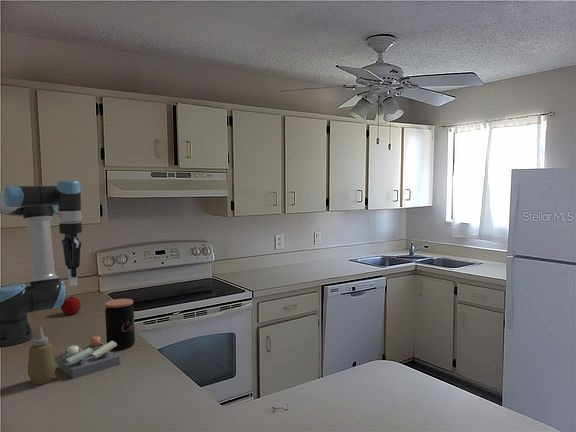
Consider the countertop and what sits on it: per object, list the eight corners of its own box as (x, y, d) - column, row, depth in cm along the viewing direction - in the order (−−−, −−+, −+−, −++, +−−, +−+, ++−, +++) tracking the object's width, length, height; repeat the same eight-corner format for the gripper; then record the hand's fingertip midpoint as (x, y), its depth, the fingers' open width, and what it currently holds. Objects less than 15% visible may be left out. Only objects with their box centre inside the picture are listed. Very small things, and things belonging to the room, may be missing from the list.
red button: (88, 346, 162) (88, 337, 162) (98, 344, 165) (98, 335, 164) (92, 349, 160) (92, 339, 159) (102, 346, 162) (102, 337, 162)
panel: (58, 367, 156) (57, 352, 156) (103, 354, 168) (102, 340, 167) (73, 378, 147) (72, 362, 146) (119, 364, 158) (118, 349, 158)
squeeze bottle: (61, 377, 147) (59, 325, 146) (41, 388, 140) (38, 332, 139) (43, 374, 150) (40, 323, 149) (22, 385, 143) (19, 330, 141)
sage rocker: (67, 363, 150) (65, 359, 150) (90, 352, 156) (88, 347, 155) (71, 366, 148) (69, 361, 147) (94, 354, 153) (93, 350, 153)
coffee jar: (125, 351, 171) (123, 305, 170) (101, 349, 173) (99, 304, 172) (140, 341, 181) (138, 299, 180) (116, 340, 183) (115, 298, 182)
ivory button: (66, 357, 156) (65, 347, 156) (76, 354, 159) (76, 344, 159) (69, 359, 154) (69, 350, 154) (80, 356, 157) (80, 347, 156)
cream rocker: (93, 357, 156) (91, 353, 156) (113, 344, 162) (111, 340, 161) (97, 360, 154) (95, 355, 153) (118, 347, 159) (116, 343, 159)
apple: (61, 312, 227) (60, 293, 227) (81, 310, 231) (80, 291, 230) (61, 317, 219) (60, 297, 218) (81, 315, 223) (80, 295, 222)
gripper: (53, 221, 163) (56, 284, 165) (65, 224, 154) (68, 290, 156) (74, 220, 169) (77, 281, 170) (87, 222, 159) (90, 286, 161)
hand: (73, 285), depth 163 cm, fingers closed
